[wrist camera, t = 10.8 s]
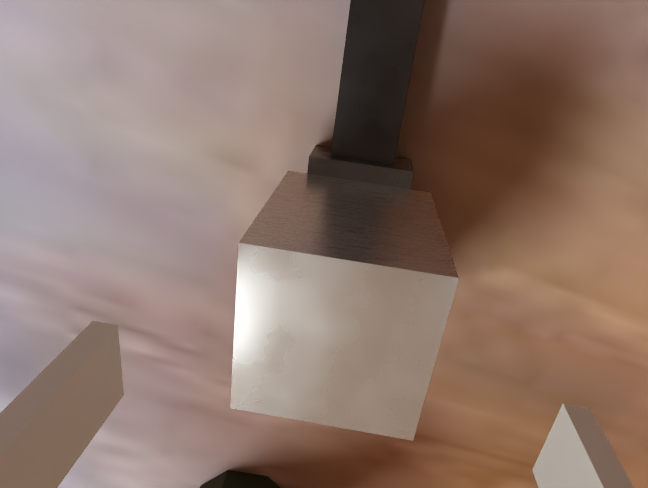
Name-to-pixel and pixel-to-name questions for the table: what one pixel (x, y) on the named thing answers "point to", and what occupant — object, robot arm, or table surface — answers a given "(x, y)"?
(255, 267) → the grey rectangular block
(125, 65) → the table surface
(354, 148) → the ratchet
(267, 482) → the wine bottle
